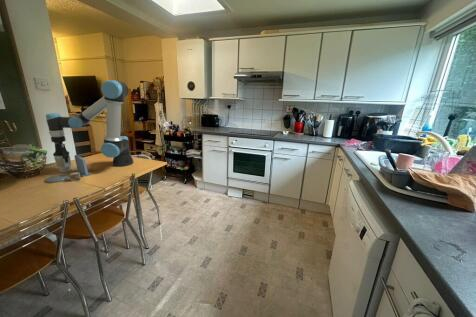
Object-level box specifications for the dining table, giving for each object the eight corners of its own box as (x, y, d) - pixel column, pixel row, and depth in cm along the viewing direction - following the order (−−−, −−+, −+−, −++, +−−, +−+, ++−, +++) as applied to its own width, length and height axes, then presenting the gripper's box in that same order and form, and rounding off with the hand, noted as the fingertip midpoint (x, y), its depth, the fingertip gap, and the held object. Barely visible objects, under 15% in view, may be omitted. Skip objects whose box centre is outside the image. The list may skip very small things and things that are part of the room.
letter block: (80, 178, 135) (79, 171, 134) (79, 180, 131) (78, 174, 130) (72, 179, 133) (70, 172, 132) (71, 181, 129) (69, 175, 128)
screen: (74, 171, 146) (71, 155, 142) (82, 169, 149) (79, 154, 146) (83, 176, 137) (79, 160, 133) (91, 174, 141) (88, 158, 137)
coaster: (73, 175, 139) (73, 174, 138) (61, 182, 127) (61, 181, 127) (53, 175, 137) (53, 174, 136) (40, 183, 125) (40, 182, 125)
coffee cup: (76, 168, 151) (72, 149, 146) (65, 172, 142) (60, 152, 138) (65, 167, 152) (60, 148, 147) (53, 172, 143) (48, 152, 138)
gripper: (45, 134, 143) (52, 161, 150) (56, 139, 130) (63, 169, 136) (58, 132, 149) (65, 159, 156) (70, 138, 136) (76, 167, 142)
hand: (64, 164), depth 146 cm, fingers open, 13 cm apart
